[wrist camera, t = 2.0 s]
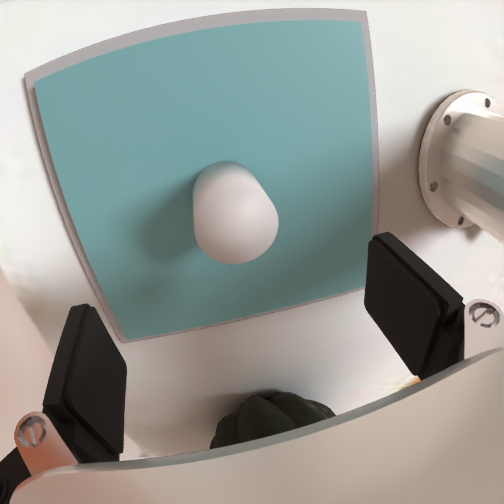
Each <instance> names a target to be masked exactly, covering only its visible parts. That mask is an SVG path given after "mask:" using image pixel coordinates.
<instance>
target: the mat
mask: <svg viewBox="0 0 504 504" xmlns="http://www.w3.org/2000/svg"><path fill="white" fill-rule="evenodd" d="M294 20H335V21H356V22H361V25H362V32H363V39H364V47H365V56H366V65H367V75H368V86H369V99H370V114H371V135H372V225H371V240H372V237H373V236H374V235H377V221H378V183H379V160H378V123H377V104H376V90H375V78H374V67H373V57H372V49H371V41H370V33H369V26H368V19H367V13H366V11H361V10H348V9H328V8H284V9H264V10H251V11H241V12H232V13H223V14H216V15H209V16H203V17H197V18H191V19H186V20H181V21H176V22H171V23H166V24H162V25H158V26H154V27H150V28H146V29H142V30H138V31H134V32H131V33H127V34H124V35H121V36H117V37H114V38H111V39H108V40H105V41H102V42H99V43H96V44H93V45H90V46H88V47H85V48H82V49H79V50H77V51H74V52H72V53H69V54H67V55H64V56H62V57H59V58H57V59H55V60H53V61H50V62H48V63H46V64H44V65H41V66H39V67H37V68H35V69H33V70H31V71H29V72H27V73H25V74H24V76H25V82H26V87H27V92H28V97H29V102H30V107H31V111H32V116H33V120H34V124H35V128H36V132H37V136H38V140H39V144H40V147H41V151H42V154H43V158H44V161H45V165H46V168H47V171H48V174H49V177H50V181H51V184H52V187H53V190H54V193H55V196H56V198H57V201H58V204H59V207H60V210H61V212H62V215H63V218H64V220H65V223H66V226H67V228H68V231H69V233H70V236H71V238H72V241H73V243H74V246H75V248H76V250H77V253H78V255H79V258H80V260H81V262H82V264H83V267H84V269H85V271H86V273H87V276H88V278H89V280H90V282H91V284H92V286H93V288H94V291H95V293H96V295H97V297H98V299H99V301H100V303H101V305H102V307H103V309H104V311H105V313H106V315H107V317H108V319H109V321H110V322H111V324H112V326H113V328H114V330H115V332H116V334H117V335H118V337H119V339H120V341H121V343H127V342H133V341H139V340H145V339H151V338H156V337H161V336H167V335H172V334H177V333H183V332H188V331H193V330H198V329H202V328H207V327H212V326H217V325H222V324H226V323H231V322H235V321H240V320H244V319H249V318H253V317H257V316H262V315H266V314H270V313H274V312H278V311H283V310H287V309H291V308H295V307H299V306H303V305H307V304H310V303H314V302H318V301H322V300H326V299H329V298H333V297H337V296H341V295H344V294H348V293H351V292H355V291H359V290H362V289H365V286H364V287H360V288H357V289H353V290H349V291H346V292H342V293H338V294H335V295H331V296H327V297H323V298H320V299H316V300H312V301H308V302H304V303H300V304H296V305H292V306H288V307H284V308H280V309H276V310H272V311H267V312H263V313H259V314H255V315H250V316H246V317H241V318H237V319H232V320H228V321H223V322H218V323H214V324H209V325H204V326H199V327H194V328H189V329H184V330H179V331H174V332H169V333H164V334H158V335H153V336H147V337H142V338H136V339H130V340H127V339H126V337H125V335H124V333H123V332H122V330H121V328H120V326H119V324H118V322H117V320H116V318H115V316H114V314H113V312H112V310H111V308H110V306H109V304H108V302H107V300H106V298H105V296H104V294H103V291H102V289H101V287H100V285H99V283H98V281H97V278H96V276H95V274H94V272H93V269H92V267H91V265H90V262H89V260H88V258H87V255H86V253H85V251H84V248H83V246H82V243H81V241H80V238H79V236H78V233H77V231H76V228H75V225H74V223H73V220H72V217H71V215H70V212H69V209H68V206H67V203H66V201H65V198H64V195H63V192H62V189H61V186H60V183H59V180H58V176H57V173H56V170H55V167H54V163H53V160H52V157H51V153H50V149H49V146H48V142H47V138H46V135H45V131H44V127H43V123H42V118H41V114H40V110H39V105H38V101H37V96H36V91H35V86H34V82H35V81H37V80H39V79H42V78H44V77H46V76H48V75H51V74H53V73H55V72H58V71H60V70H62V69H65V68H67V67H70V66H72V65H75V64H78V63H80V62H83V61H86V60H88V59H91V58H94V57H97V56H100V55H103V54H106V53H109V52H112V51H115V50H118V49H122V48H125V47H129V46H132V45H136V44H139V43H143V42H147V41H151V40H155V39H159V38H163V37H168V36H172V35H177V34H182V33H187V32H192V31H198V30H203V29H209V28H216V27H223V26H231V25H239V24H248V23H259V22H273V21H294Z"/></svg>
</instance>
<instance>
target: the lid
mask: <svg viewBox="0 0 504 504" xmlns="http://www.w3.org/2000/svg"><path fill="white" fill-rule="evenodd" d="M34 86H35V91H36V96H37V101H38V105H39V110H40V114H41V118H42V123H43V127H44V131H45V135H46V138H47V142H48V146H49V149H50V153H51V157H52V160H53V163H54V167H55V170H56V173H57V176H58V180H59V183H60V186H61V189H62V192H63V195H64V198H65V201H66V203H67V206H68V209H69V212H70V215H71V217H72V220H73V223H74V225H75V228H76V231H77V233H78V236H79V238H80V241H81V243H82V246H83V248H84V251H85V253H86V255H87V258H88V260H89V262H90V265H91V267H92V269H93V272H94V274H95V276H96V278H97V281H98V283H99V285H100V287H101V289H102V291H103V294H104V296H105V298H106V300H107V302H108V304H109V306H110V308H111V310H112V312H113V314H114V316H115V318H116V320H117V322H118V324H119V326H120V328H121V330H122V332H123V333H124V335H125V337H126V339H127V340H130V339H136V338H142V337H147V336H153V335H158V334H164V333H169V332H174V331H179V330H184V329H189V328H194V327H199V326H204V325H209V324H214V323H218V322H223V321H228V320H232V319H237V318H241V317H246V316H250V315H255V314H259V313H263V312H267V311H272V310H276V309H280V308H284V307H288V306H292V305H296V304H300V303H304V302H308V301H312V300H316V299H320V298H323V297H327V296H331V295H335V294H338V293H342V292H346V291H349V290H353V289H357V288H360V287H364V286H365V285H366V273H367V257H368V243H369V241H371V225H372V135H371V114H370V99H369V86H368V75H367V65H366V56H365V47H364V39H363V32H362V25H361V22H356V21H335V20H294V21H273V22H259V23H248V24H239V25H231V26H223V27H216V28H209V29H203V30H198V31H192V32H187V33H182V34H177V35H172V36H168V37H163V38H159V39H155V40H151V41H147V42H143V43H139V44H136V45H132V46H129V47H125V48H122V49H118V50H115V51H112V52H109V53H106V54H103V55H100V56H97V57H94V58H91V59H88V60H86V61H83V62H80V63H78V64H75V65H72V66H70V67H67V68H65V69H62V70H60V71H58V72H55V73H53V74H51V75H48V76H46V77H44V78H42V79H39V80H37V81H35V82H34Z"/></svg>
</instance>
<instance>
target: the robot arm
mask: <svg viewBox="0 0 504 504" xmlns="http://www.w3.org/2000/svg"><path fill="white" fill-rule="evenodd" d="M418 170H419V184H420V188H421V192H422V196H423V199H424V201H425V203H426V206H427V207H428V209H429V210H430V212H431V213H432V214H433V215H434V216H435V217H436V218H437V219H438V220H440V221H441V222H443V223H444V224H446V225H447V226H450V227H454V228H465V227H469V226H472V225H474V224H476V225H478V226H479V227H480V228H482V229H483V230H485V231H486V232H488V233H489V234H490V235H492V236H493V237H494V238H496V239H497V240H499V241H500V242H501V243H503V244H504V110H503V109H502V107H501V106H500V104H499V103H498V102H497V101H496V100H495V99H494V98H493V97H491V96H489V95H488V94H486V93H483V92H479V91H475V90H463V91H458V92H456V93H454V94H452V95H451V96H449V97H448V98H447V99H446V100H444V101H443V102H442V103H441V104H440V105H439V107H438V108H437V110H436V111H435V112H434V114H433V115H432V117H431V119H430V121H429V123H428V125H427V128H426V131H425V134H424V137H423V140H422V144H421V149H420V155H419V169H418ZM462 301H463V297H462V296H461V295H460V294H459V293H458V292H457V291H455V290H454V289H453V288H452V287H451V286H450V285H449V284H448V283H447V282H446V281H445V280H444V279H443V278H442V277H441V276H439V275H438V274H437V273H436V272H435V271H434V270H433V269H432V268H431V267H430V266H428V265H427V264H426V263H425V262H424V261H423V260H422V259H421V258H419V257H418V256H417V255H416V254H415V253H414V252H413V251H411V250H410V249H409V248H408V247H407V246H406V245H404V244H403V243H402V242H401V241H400V240H398V239H397V238H396V237H395V236H394V235H393V234H391V233H390V232H385V233H381V234H377V235H374V236H373V237H372V240H371V241H369V243H368V257H367V273H366V285H365V297H364V305H365V308H366V310H367V312H368V313H369V314H370V316H371V317H372V319H373V320H374V321H375V323H376V324H377V325H378V327H379V328H380V329H381V331H382V332H383V334H384V335H385V336H386V338H387V339H388V340H389V342H390V343H391V345H392V346H393V347H394V349H395V350H396V352H397V353H398V354H399V356H400V357H401V359H402V360H403V362H404V363H405V364H406V366H407V367H408V369H409V370H410V372H411V373H412V374H413V375H414V376H416V375H417V376H418V377H419V378H420V380H421V381H420V382H418V383H416V384H413V385H411V386H409V387H407V388H405V389H402V390H400V391H398V392H396V393H393V394H391V395H389V396H386V397H384V398H382V399H379V400H377V401H374V402H372V403H369V404H367V405H364V406H362V407H359V408H357V409H354V410H351V411H349V412H346V413H343V414H340V415H337V416H335V417H332V418H329V419H326V420H323V421H320V422H317V423H314V424H311V425H307V426H304V427H301V428H297V429H294V430H291V431H287V432H284V433H280V434H276V435H273V436H269V437H265V438H261V439H257V440H253V441H249V442H244V443H240V444H235V445H230V446H226V447H221V448H216V449H210V450H205V451H199V452H193V453H187V454H180V455H173V456H165V457H157V458H147V459H138V460H128V461H119V454H120V453H123V445H124V442H123V441H124V410H125V391H126V376H127V366H126V363H125V361H124V359H123V357H122V355H121V354H120V352H119V350H118V349H117V347H116V345H115V343H114V342H113V340H112V338H111V336H110V335H109V333H108V331H107V329H106V327H105V326H104V324H103V322H102V320H101V318H100V316H99V314H98V312H97V311H96V309H95V308H94V307H90V305H88V304H82V305H77V306H73V307H71V309H70V311H69V314H68V317H67V320H66V323H65V326H64V329H63V332H62V335H61V338H60V342H59V345H58V348H57V351H56V355H55V358H54V362H53V365H52V369H51V373H50V376H49V380H48V384H47V388H46V392H45V396H44V400H43V404H42V405H43V411H42V413H41V412H32V413H29V414H27V415H25V416H24V417H23V418H22V419H21V420H20V421H19V423H18V425H17V426H16V429H15V432H14V439H15V443H16V445H17V447H16V448H15V449H13V450H12V452H10V453H9V454H8V455H7V456H6V457H5V458H4V459H3V460H2V461H1V462H0V504H504V315H503V312H502V311H501V309H500V308H499V307H498V306H497V305H495V304H494V303H492V302H490V301H488V300H484V299H476V300H472V301H470V302H468V303H467V305H466V306H465V305H464V304H463V303H462Z"/></svg>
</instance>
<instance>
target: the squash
mask: <svg viewBox="0 0 504 504" xmlns="http://www.w3.org/2000/svg"><path fill="white" fill-rule="evenodd" d="M335 416H336V415H335V414H334V413H333V411H332V410H331V409H330V408H328V407H327V406H325V405H323V404H321V403H319V402H316V401H312V400H306V399H303V398H302V397H300V396H298V395H296V394H293V393H290V392H281V393H278V394H275V395H274V396H272V397H271V398H270V399H269V400H266V399H264V398H262V397H258V396H255V397H251V398H249V399H247V400H246V401H245V402H244V403H243V404H242V406H241V408H240V411H239V413H233V414H230V415H227V416H225V417H224V418H222V419H221V421H220V422H219V423H218V425H217V429H216V433H215V434H216V435H215V436H214V438H213V439H212V442H211V444H210V449H216V448H221V447H226V446H230V445H235V444H240V443H244V442H249V441H253V440H257V439H261V438H265V437H269V436H273V435H276V434H280V433H284V432H287V431H291V430H294V429H297V428H301V427H304V426H307V425H311V424H314V423H317V422H320V421H323V420H326V419H329V418H332V417H335Z"/></svg>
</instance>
